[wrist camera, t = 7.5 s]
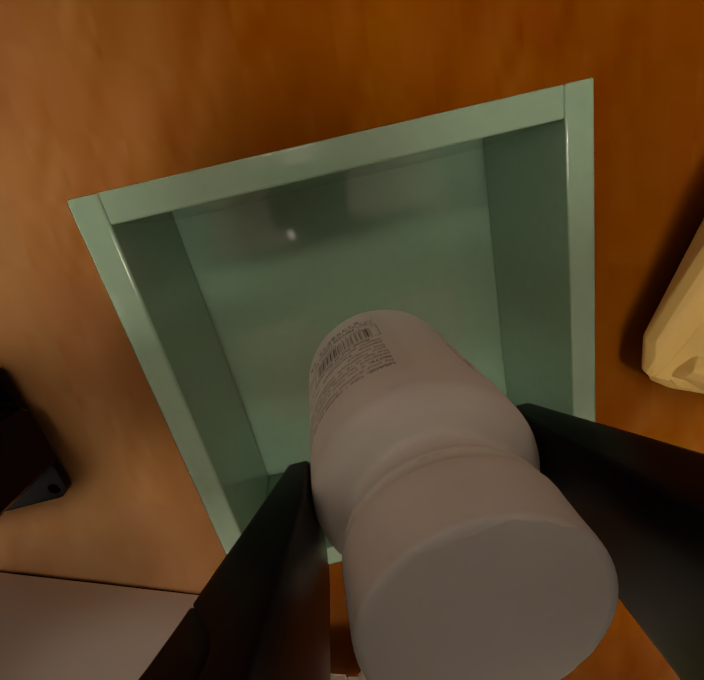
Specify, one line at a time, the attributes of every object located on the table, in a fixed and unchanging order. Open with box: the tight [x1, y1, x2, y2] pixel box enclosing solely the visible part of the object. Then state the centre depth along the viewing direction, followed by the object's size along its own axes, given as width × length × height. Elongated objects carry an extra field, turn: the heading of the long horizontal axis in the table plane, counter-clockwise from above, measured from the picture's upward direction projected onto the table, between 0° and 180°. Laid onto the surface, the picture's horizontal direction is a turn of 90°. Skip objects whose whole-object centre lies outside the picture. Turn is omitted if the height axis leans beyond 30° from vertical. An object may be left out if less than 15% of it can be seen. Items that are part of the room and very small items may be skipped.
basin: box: [67, 78, 595, 565], centre depth 14 cm, size 14×14×6 cm
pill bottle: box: [309, 310, 619, 680], centre depth 8 cm, size 4×4×8 cm
